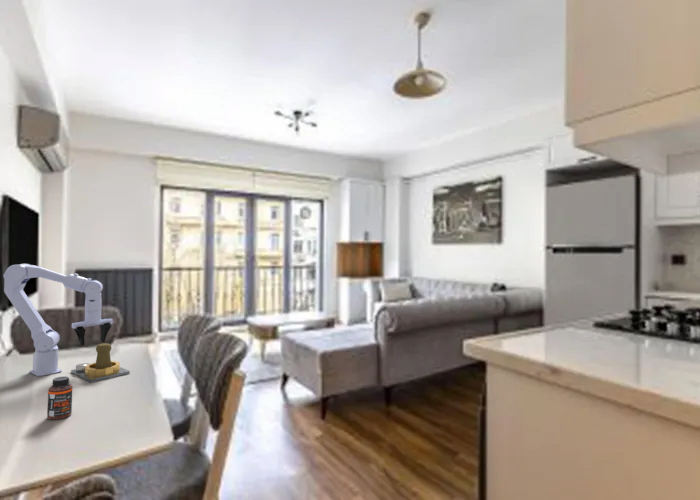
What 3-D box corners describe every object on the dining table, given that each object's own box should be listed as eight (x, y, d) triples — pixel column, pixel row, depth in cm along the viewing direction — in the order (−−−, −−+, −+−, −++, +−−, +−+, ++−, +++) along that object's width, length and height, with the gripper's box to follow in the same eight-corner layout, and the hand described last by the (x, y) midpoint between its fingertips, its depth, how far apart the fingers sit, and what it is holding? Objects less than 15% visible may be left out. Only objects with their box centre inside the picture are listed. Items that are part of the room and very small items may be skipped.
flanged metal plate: (71, 372, 160) (71, 363, 160) (108, 364, 171) (109, 356, 171) (90, 382, 149) (90, 373, 149) (129, 373, 161) (129, 364, 161)
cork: (104, 374, 156) (104, 346, 155) (90, 373, 156) (90, 345, 156) (115, 370, 162) (116, 342, 161) (102, 368, 162) (102, 341, 162)
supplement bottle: (52, 422, 116) (53, 383, 116) (43, 417, 119) (44, 378, 119) (75, 415, 121) (76, 377, 121) (66, 410, 124) (67, 373, 124)
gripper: (77, 313, 157) (76, 348, 157) (116, 309, 168) (115, 341, 169) (69, 311, 161) (69, 345, 161) (108, 307, 173) (108, 339, 173)
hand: (92, 343), depth 165 cm, fingers open, 7 cm apart
